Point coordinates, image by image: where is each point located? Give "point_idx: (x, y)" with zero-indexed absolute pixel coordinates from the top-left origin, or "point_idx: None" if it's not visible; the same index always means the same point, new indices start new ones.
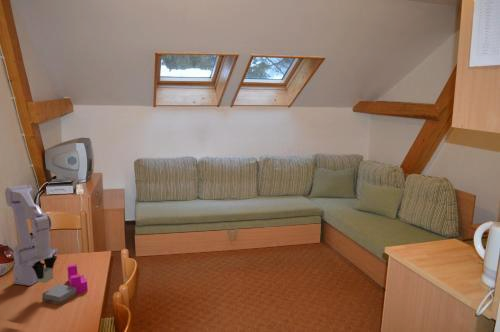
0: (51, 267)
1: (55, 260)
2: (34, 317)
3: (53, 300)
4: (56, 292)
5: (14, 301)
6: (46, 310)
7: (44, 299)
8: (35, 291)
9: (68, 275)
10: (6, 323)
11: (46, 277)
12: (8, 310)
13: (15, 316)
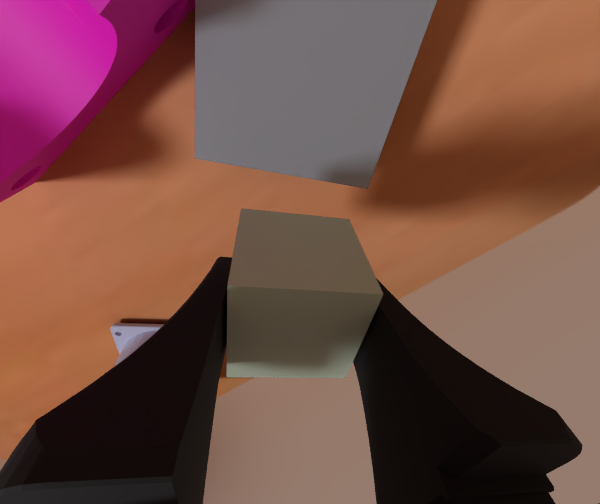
0: (220, 307)
1: (103, 380)
2: (558, 87)
3: None
4: (349, 77)
5: None
6: (480, 59)
7: None
8: None
9: (14, 176)
10: (567, 201)
11: (338, 244)
12: (436, 267)
13: (506, 204)
